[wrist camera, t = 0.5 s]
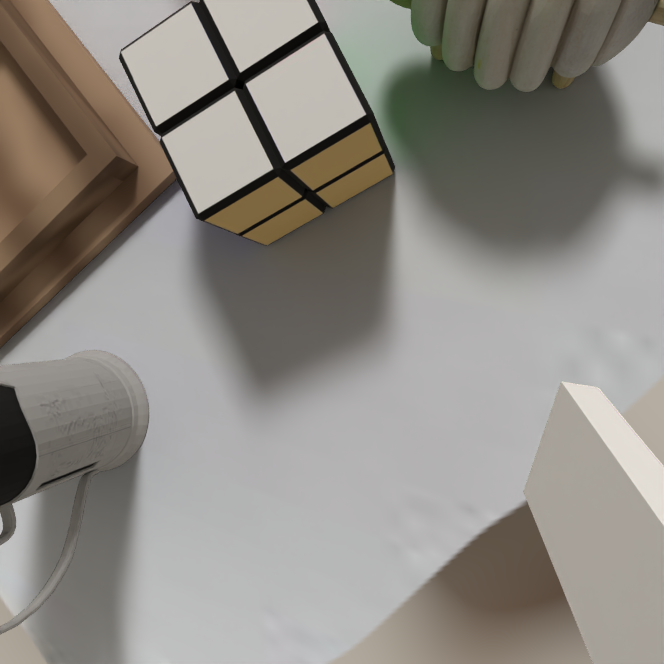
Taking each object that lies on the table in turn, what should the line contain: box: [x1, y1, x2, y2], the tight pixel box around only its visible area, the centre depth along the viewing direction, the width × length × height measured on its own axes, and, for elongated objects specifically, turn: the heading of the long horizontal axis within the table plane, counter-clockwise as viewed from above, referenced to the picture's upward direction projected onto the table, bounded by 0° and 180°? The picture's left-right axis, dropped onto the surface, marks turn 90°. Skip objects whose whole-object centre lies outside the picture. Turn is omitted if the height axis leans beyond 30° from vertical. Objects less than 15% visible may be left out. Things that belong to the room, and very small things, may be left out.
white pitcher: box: [0, 350, 149, 634], centre depth 33 cm, size 9×14×15 cm, turn 19°
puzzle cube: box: [119, 0, 395, 246], centre depth 32 cm, size 10×10×10 cm
